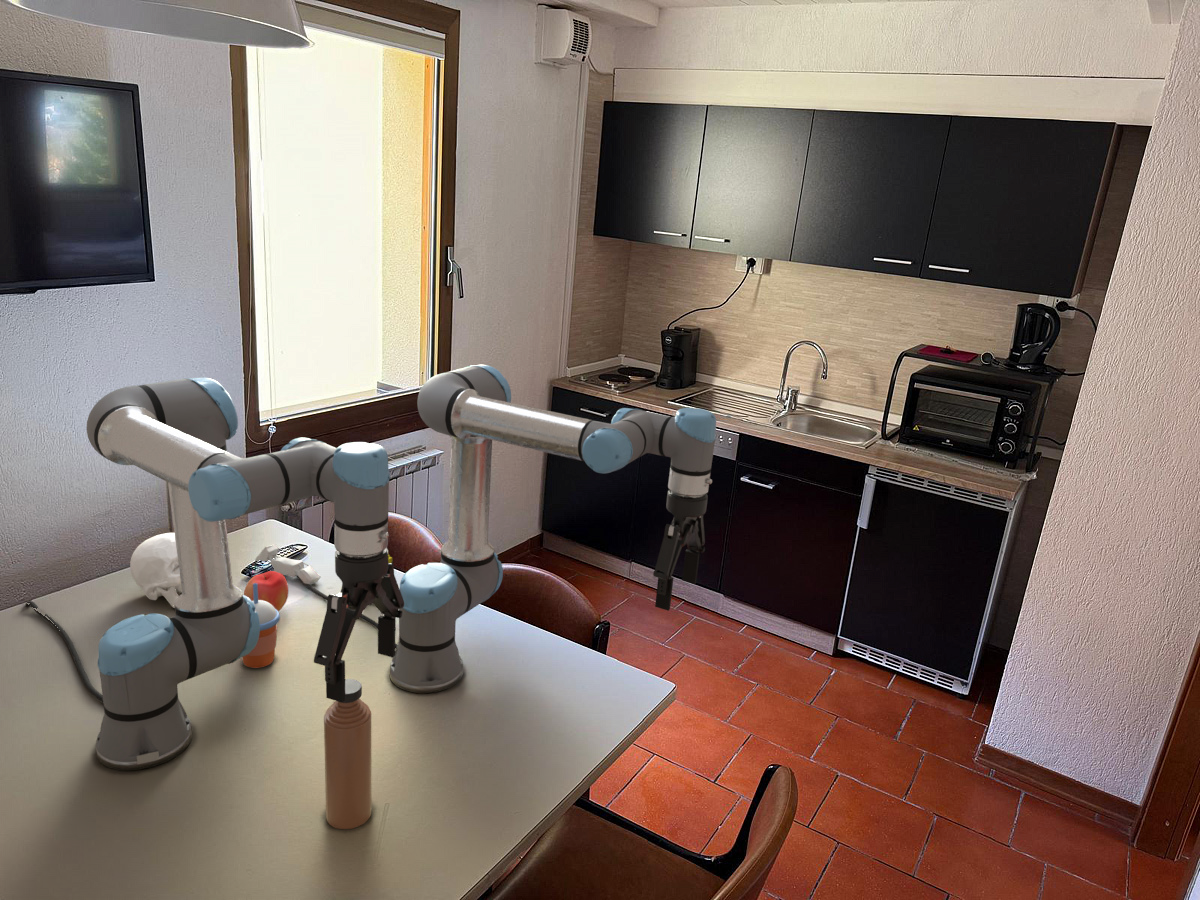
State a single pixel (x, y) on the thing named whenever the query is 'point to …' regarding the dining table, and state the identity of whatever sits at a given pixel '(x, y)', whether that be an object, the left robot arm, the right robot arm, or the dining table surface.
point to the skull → (157, 567)
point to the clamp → (288, 565)
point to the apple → (269, 588)
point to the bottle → (348, 764)
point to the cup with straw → (263, 633)
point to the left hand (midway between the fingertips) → (362, 675)
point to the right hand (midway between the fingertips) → (676, 594)
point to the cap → (352, 690)
